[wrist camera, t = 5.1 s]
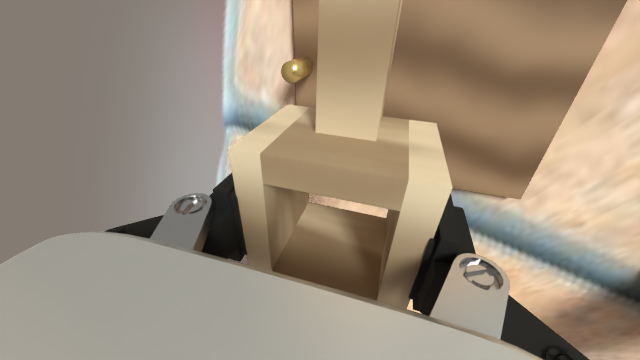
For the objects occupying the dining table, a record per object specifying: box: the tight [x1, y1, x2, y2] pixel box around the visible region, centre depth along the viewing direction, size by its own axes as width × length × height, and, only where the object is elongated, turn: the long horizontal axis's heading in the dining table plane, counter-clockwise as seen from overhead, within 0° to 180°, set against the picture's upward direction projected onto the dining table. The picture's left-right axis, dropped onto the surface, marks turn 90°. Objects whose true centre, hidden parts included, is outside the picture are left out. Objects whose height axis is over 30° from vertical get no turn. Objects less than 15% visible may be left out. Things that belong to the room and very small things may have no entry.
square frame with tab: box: [228, 0, 453, 309], centre depth 9 cm, size 10×6×4 cm, turn 178°
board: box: [293, 0, 627, 199], centre depth 19 cm, size 22×22×6 cm
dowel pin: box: [281, 56, 314, 83], centre depth 22 cm, size 2×2×4 cm
